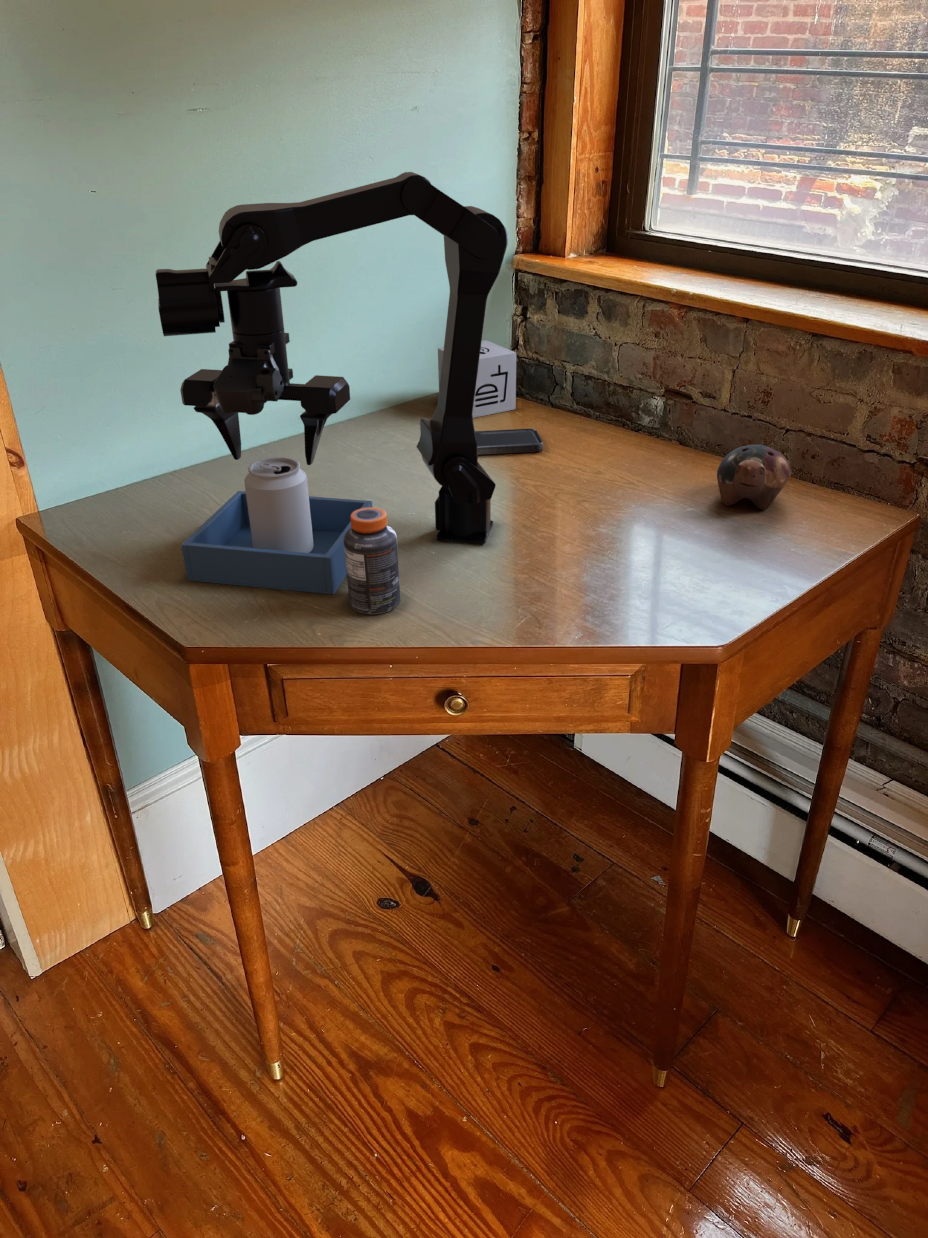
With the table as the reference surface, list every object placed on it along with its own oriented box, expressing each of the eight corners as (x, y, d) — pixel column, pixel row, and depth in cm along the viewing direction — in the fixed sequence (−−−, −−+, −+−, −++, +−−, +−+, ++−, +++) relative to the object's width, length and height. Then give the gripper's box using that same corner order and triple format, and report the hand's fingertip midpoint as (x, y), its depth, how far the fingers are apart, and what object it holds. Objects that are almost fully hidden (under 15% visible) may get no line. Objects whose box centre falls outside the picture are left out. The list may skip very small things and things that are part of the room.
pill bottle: (401, 590, 113) (396, 501, 107) (400, 615, 108) (395, 523, 102) (350, 591, 113) (343, 502, 107) (347, 616, 108) (339, 525, 102)
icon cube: (515, 409, 170) (516, 352, 165) (467, 418, 166) (466, 361, 161) (486, 394, 178) (486, 340, 172) (439, 403, 173) (437, 348, 168)
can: (302, 570, 117) (292, 478, 111) (245, 565, 118) (231, 474, 112) (322, 543, 123) (313, 455, 117) (267, 539, 125) (256, 451, 119)
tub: (374, 534, 126) (372, 500, 124) (333, 594, 112) (329, 557, 110) (242, 523, 130) (238, 490, 127) (187, 580, 116) (180, 544, 113)
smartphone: (544, 444, 151) (449, 449, 149) (544, 451, 151) (449, 456, 150) (535, 427, 158) (444, 432, 156) (535, 434, 158) (444, 438, 157)
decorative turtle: (711, 518, 129) (715, 461, 126) (718, 484, 142) (722, 430, 139) (786, 523, 126) (793, 464, 123) (787, 487, 139) (793, 433, 136)
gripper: (146, 343, 102) (170, 481, 110) (312, 352, 98) (325, 493, 106) (193, 319, 111) (212, 447, 119) (346, 325, 107) (356, 457, 115)
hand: (273, 461), depth 115 cm, fingers open, 9 cm apart
